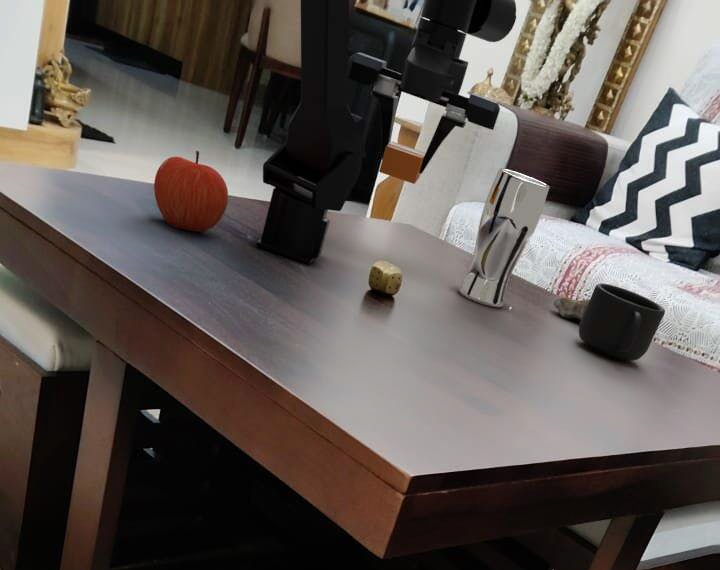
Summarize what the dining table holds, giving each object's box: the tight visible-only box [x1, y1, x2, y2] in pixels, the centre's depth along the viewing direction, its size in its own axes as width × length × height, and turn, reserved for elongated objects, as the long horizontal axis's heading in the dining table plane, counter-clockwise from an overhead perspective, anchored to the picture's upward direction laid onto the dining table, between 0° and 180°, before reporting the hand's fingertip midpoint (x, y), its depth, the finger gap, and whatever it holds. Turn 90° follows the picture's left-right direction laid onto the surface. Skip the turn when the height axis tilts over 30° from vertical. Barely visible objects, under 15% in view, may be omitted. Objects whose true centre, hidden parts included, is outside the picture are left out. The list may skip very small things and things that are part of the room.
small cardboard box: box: [378, 141, 426, 185], centre depth 123 cm, size 5×7×3 cm
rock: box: [553, 296, 590, 321], centre depth 135 cm, size 9×6×10 cm
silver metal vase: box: [458, 167, 551, 309], centre depth 124 cm, size 7×7×15 cm
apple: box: [153, 150, 229, 233], centre depth 108 cm, size 8×8×8 cm
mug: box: [578, 283, 666, 362], centre depth 121 cm, size 12×9×7 cm
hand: (401, 166), depth 123 cm, fingers closed on small cardboard box, 4 cm apart
